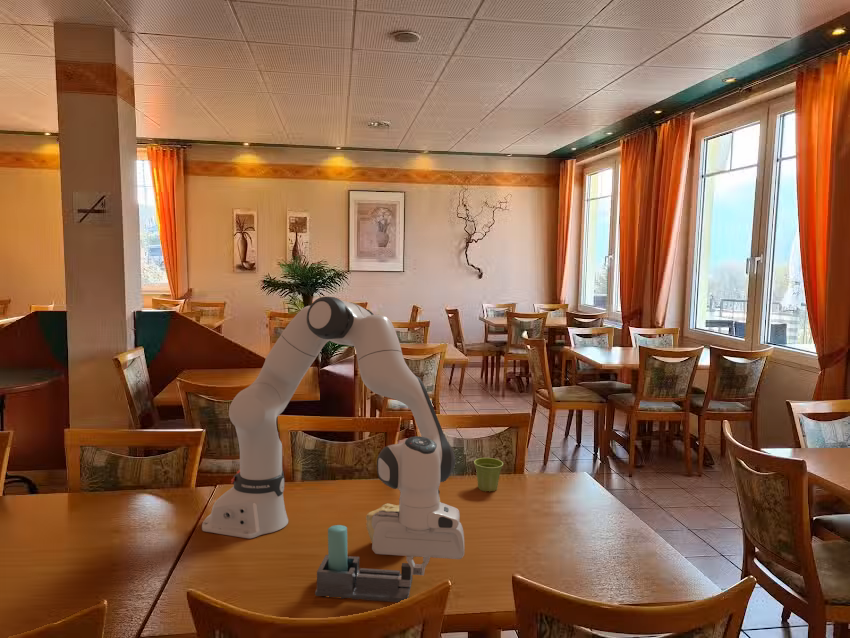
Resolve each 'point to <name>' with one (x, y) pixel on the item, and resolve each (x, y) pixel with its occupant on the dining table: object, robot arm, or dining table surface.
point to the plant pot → (488, 473)
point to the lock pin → (402, 580)
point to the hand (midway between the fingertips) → (417, 573)
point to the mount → (359, 583)
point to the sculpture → (383, 508)
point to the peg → (337, 548)
